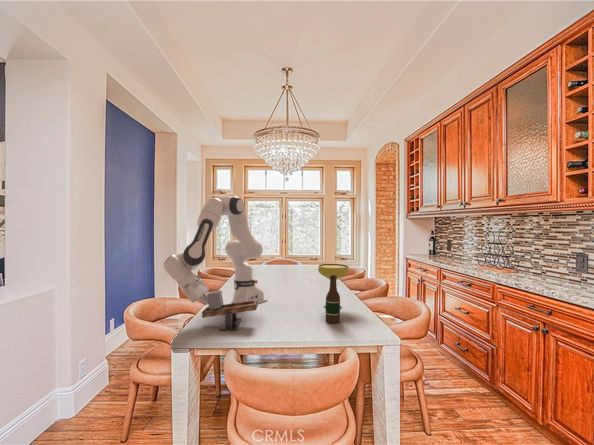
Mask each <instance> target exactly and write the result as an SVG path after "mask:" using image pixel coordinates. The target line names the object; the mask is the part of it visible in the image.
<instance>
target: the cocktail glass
mask: <svg viewBox="0 0 594 445" xmlns="http://www.w3.org/2000/svg"><path fill="white" fill-rule="evenodd" d="M317 270H318V273H319V274H320V275H322V276H323V277H325V278H327V279H328V280H330V276H331V275H336V276H337V278H336V281H337V280H339V279H340V278H343V277H344V276H345V277H346V275H347V274H348V273H349V266H348V265H346V264H341V263H340V264H339V263H337V264H336V263H324V264H323V263H322V264H319V265H318V267H317ZM342 307H343V306H341V305H340V310H341V309H342ZM323 308H325V309H326V304H325V305H323Z"/></svg>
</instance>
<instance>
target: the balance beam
mask: <svg viewBox="0 0 594 445" xmlns="http://www.w3.org/2000/svg"><path fill="white" fill-rule="evenodd" d="M223 305H224V308H223V309H217V310H210V311H209V306H206V307H205V308H204V309H203V311H202V312H201V317H202V319H206V318H211V317H216V316H217V317H218V316H225V313H226V312H232V314H233V313H237V314H239V313H245V312H253V311H257V308H258V306H259V303H258V301H257V300H252V301H246V302H239V303H232V302H231V303H225V304H223Z"/></svg>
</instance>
